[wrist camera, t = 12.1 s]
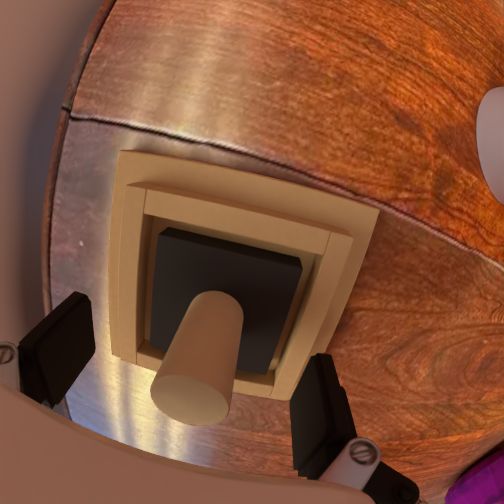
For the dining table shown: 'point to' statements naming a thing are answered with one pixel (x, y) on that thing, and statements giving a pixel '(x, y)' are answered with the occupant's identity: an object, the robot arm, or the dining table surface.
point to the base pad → (240, 231)
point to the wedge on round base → (492, 140)
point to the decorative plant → (480, 483)
